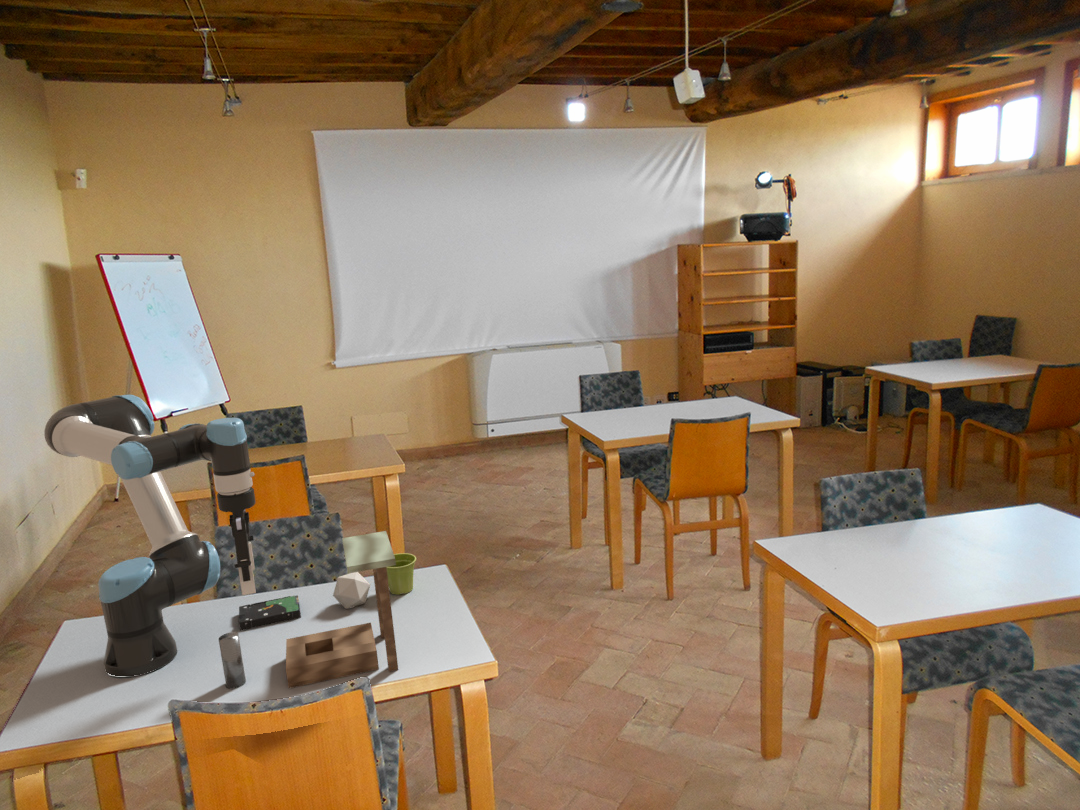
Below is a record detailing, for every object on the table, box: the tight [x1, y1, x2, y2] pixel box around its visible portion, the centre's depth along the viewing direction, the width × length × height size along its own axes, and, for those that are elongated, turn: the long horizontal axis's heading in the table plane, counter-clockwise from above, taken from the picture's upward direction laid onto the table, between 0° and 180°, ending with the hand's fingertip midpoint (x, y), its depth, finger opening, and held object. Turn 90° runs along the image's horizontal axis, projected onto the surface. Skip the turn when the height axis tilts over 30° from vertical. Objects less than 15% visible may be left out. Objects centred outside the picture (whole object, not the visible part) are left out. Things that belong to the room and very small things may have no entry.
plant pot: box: [387, 552, 417, 596], centre depth 210 cm, size 9×9×9 cm
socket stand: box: [285, 530, 399, 689], centre depth 174 cm, size 25×18×26 cm
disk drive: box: [238, 595, 302, 631], centre depth 201 cm, size 10×3×15 cm
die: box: [332, 572, 371, 610], centre depth 204 cm, size 8×9×10 cm
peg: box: [218, 631, 247, 690], centre depth 169 cm, size 4×4×11 cm
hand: (248, 581), depth 173 cm, fingers open, 13 cm apart
